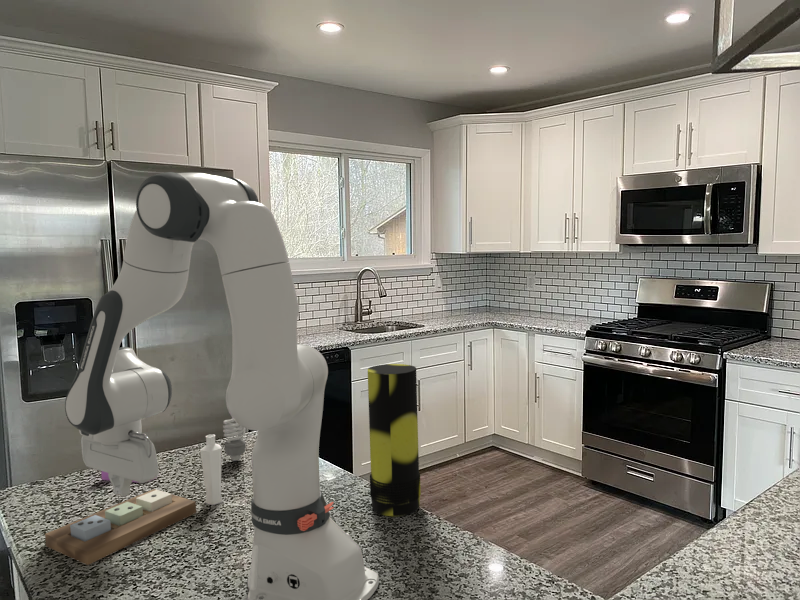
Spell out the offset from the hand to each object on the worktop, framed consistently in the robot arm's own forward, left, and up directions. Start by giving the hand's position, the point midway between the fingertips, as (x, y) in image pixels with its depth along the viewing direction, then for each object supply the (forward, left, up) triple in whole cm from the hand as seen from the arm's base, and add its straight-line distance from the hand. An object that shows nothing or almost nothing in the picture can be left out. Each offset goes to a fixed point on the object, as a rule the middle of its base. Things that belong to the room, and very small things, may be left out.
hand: (122, 494), depth 121 cm
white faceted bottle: (-6, -18, -7) cm, 20 cm away
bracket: (+24, -18, -8) cm, 31 cm away
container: (-43, -35, -7) cm, 56 cm away
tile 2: (0, 0, -5) cm, 5 cm away
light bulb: (+9, -38, -7) cm, 40 cm away
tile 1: (0, -7, -6) cm, 9 cm away
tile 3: (0, +7, -6) cm, 9 cm away
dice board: (0, 0, -7) cm, 7 cm away
